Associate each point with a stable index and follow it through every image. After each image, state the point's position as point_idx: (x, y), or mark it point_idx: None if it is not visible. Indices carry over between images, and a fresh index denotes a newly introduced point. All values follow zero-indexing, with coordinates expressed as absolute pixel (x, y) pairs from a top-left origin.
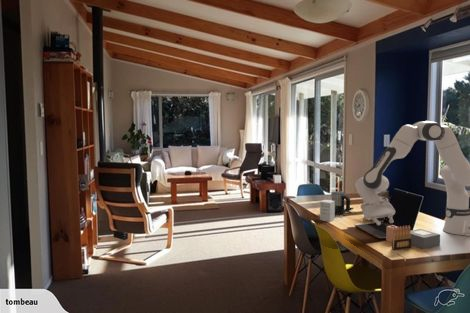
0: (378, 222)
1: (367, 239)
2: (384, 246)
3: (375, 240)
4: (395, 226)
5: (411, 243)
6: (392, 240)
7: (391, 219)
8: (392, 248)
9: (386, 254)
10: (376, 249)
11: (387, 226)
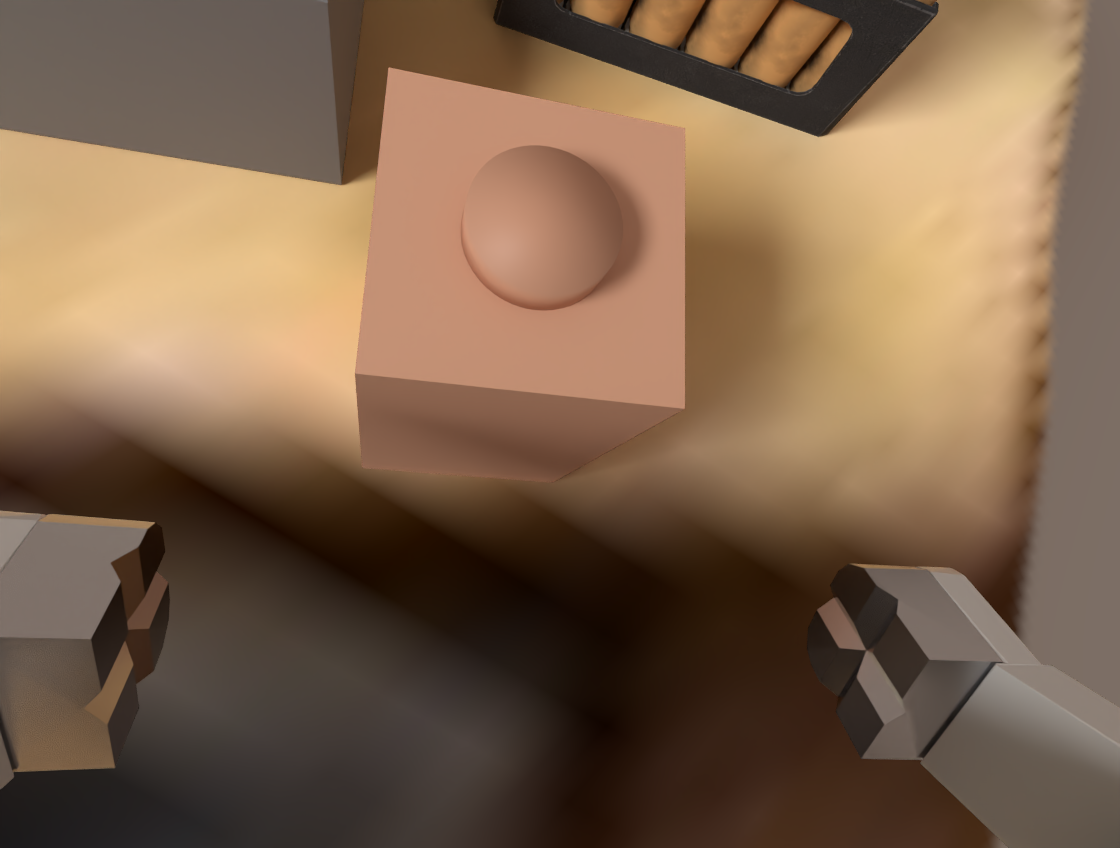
0: (992, 613)
1: (827, 746)
2: (832, 276)
3: (734, 607)
4: (422, 203)
5: (359, 10)
6: (926, 20)
7: (41, 606)
8: (818, 124)
9: (1027, 67)
10: (1023, 262)
11: (668, 376)
